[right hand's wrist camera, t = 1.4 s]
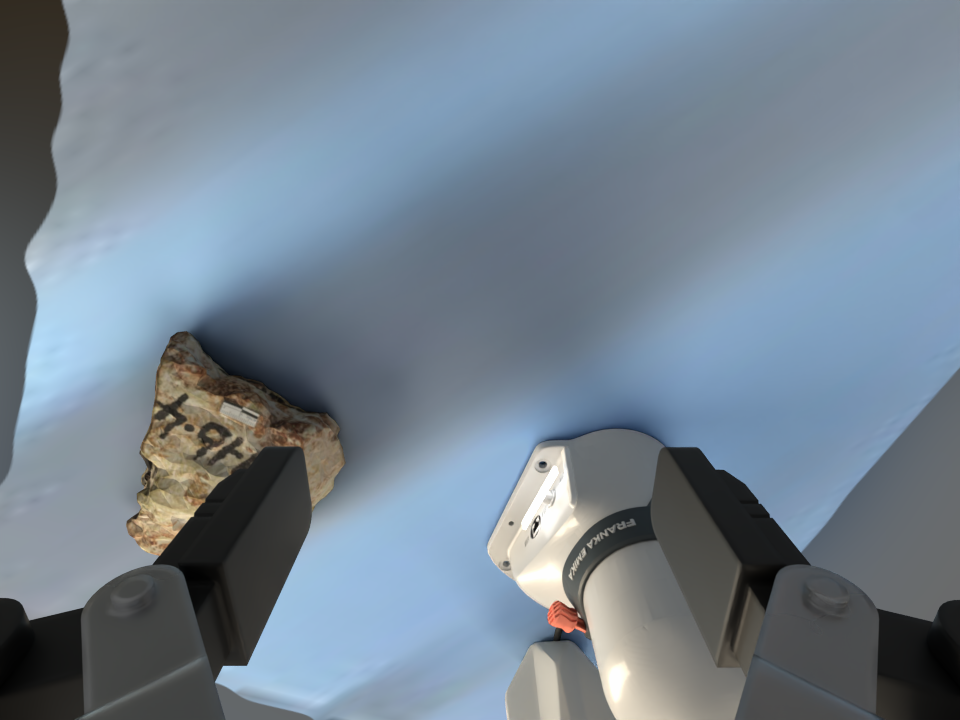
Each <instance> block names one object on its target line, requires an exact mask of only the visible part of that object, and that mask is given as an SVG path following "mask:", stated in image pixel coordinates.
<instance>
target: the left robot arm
mask: <svg viewBox="0 0 960 720" xmlns="http://www.w3.org/2000/svg"><path fill="white" fill-rule="evenodd" d="M663 447H665V446H664V445H663V444H662V443H660V442H659V441H658V440H656V439H654V438H653V437H651V436H649V435H647V434H644V433H641V432H638V431H634V430H628V429H605V430H600V431H595V432H592V433H589V434H586V435H583V436H580V437H578V438H575V439H571V440H550V441H544V442H541V443H540V444H538V445H537V446H536V448H535V450H534V451H533V453H532V455H531V457H530V459H529V461H528V463H527V465H526V467H525V469H524V471H523V473H522V475H521V478H520V480H519V482H518V484H517V486H516V488H515V490H514V492H513V494H512V496H511V498H510V500H509V502H508V504H507V506H506V508H505V510H504V512H503V514H502V516H501V518H500V520H499V522H498V524H497V526H496V528H495V530H494V532H493V534H492V536H491V538H490V540H489V542H488V545H487V549H488V553H489V556H490V557H491V559H492V561H493V562H494V563H495V564H496V566H497V567H498V568H499V569H500V570H501V571H502V572H504V573H505V574H506V575H507V576H509V577H510V578H512V579H513V580H515V581H516V582H517V584H518V585H519V587H520V588H521V589H522V590H523V592H524V593H525V594H527V595H528V596H529V597H530V598H531V599H533V600H534V601H536V602H537V603H539V604H540V605H542V606H544V607H546V608H547V609H549V612H548V621H549V624H550V625H552V626H554V627H556V630H555V634H554V639H553V641H560V638H561V634H562V630H564V631H565V632H567V633H570V632H572V631H573V630H574V629H575V628H576V629H578V630H580V631H582V632H584V634H585V637H586V638H588V639H590V640H592V644H593V648H594V652H595V656H596V661H597V665H598V669H599V673H600V678H601V682H602V686H603V691H604V694H605V697H606V700H607V702H608V705H609V707H610V709H611V711H612V713H613V715H614V717H615V718H616V720H735V716H736V713H737V709H738V706H739V702H740V699H741V695H742V692H743V688H744V685H745V681H746V677H745V675H744V673H743V671H742V669H741V668H717V667H716V665H715V662H714V660H713V658H712V656H711V654H710V652H709V650H708V647H707V645H706V643H705V641H704V639H703V637H702V635H701V632H700V630H699V628H698V626H697V624H696V622H695V619H694V617H693V615H692V613H691V611H690V609H689V607H688V604H687V602H686V600H685V598H684V596H683V594H682V592H681V589H680V587H679V585H678V583H677V581H676V579H675V576H674V574H673V572H672V570H671V568H670V566H669V564H668V561H667V559H666V557H665V555H664V553H663V551H662V549H661V546H660V544H659V542H658V540H657V538H656V536H655V533H654V530H653V527H652V522H651V500H652V494H653V487H654V480H655V474H656V467H657V461H658V455H659V452H660V450H661V449H662V448H663ZM541 461H545V462H546V463H545V464H539V463H540V462H541ZM504 561H509V562H504Z"/></svg>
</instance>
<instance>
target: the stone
mask: <svg viewBox="0 0 960 720" xmlns="http://www.w3.org/2000/svg"><path fill="white" fill-rule="evenodd" d="M339 430H340V428H339V426H338V425H337V423H336V421H335V420H333V419H332V418H331V417H329V416H328V414H327V413H317V412H306V411H304V410H302V409H301V408H299V407H296V406H292V405H290V404H289V403H288V402H287V401H286V400H285V399H284V398H282V397H281V396H280V395H279V394H277V393H275V392H273V391H271V390H269V389H268V388H267V387H266V386H265V385H264V384H263V383H261V382H258V381H255V380H251V379H245V378H244V377H242V376H230V375H228V374H227V373H226V372H225V371H224V370H223V369H222V368H221V367H220V366H219V365H218V364H216V363H215V362H214V361H212V359H211V357H210V356H209V355H207V354H206V353H205V352H204V351H203V350H202V349H201V346H200V343H199V342H198V341H197V340H196V339H195V338H194V336H193V335H192V334H190V333H188V332H187V331H184V332H177V333H176V334H174V335H173V336H172V337H171V338H170V341H169V344H168V345H167V347H166V349H165V351H164V353H163V355H162V357H161V363H160V365H159V366H158V369H157V374H156V385H155V401H154V407H153V411H152V419H151V424H150V427H149V429H148V431H147V433H146V436H145V438H144V440H143V442H142V444H141V451H140V455H141V456H142V458H143V459H144V461H145V463H146V465H147V469H146V471H145V473H144V474H143V475H142V478H141V482H142V485H144V489H143V490H142V491H140V492H138V493H137V501H138V503H139V504H140V505H141V510H140V512H139V513H137V514H136V515H134V516H133V517H131V518H130V519H129V520H128V521H127V524H126V527H127V530H128V533H129V535H130V536H132V537H133V538H135V540H136V542H137V544H138V545H139V546H140V547H141V548H142V549H143V550H144V551H146V552H148V553H151V554H155V555H159V556H160V555H161V554H162V552H163V551H164V550H165V549H166V547H167V546H168V545H169V544H170V542H171V541H172V540H173V539H174V537H175V536H176V535H177V534H178V532H179V531H180V530H181V529H182V527H183V526H184V525H185V524H186V522H187V521H188V520H189V519H190V518H191V517H194V513H195V511H196V510H197V509H198V508H199V506H200V505H201V504H202V503H205V499H206V498H207V496H208V495H209V494H210V493H211V491H212V490H213V489H214V488H215V487H216V485H217V484H218V483H219V482H221V481H222V480H223V479H225V478H226V477H228V476H229V475H231V474H232V473H234V472H235V471H237V470H238V469H248V468H249V466H250V465H251V464H252V462H253V461H254V460H255V458H256V457H257V456H258V454H259V453H260V452H261V450H262V449H263V448H264V447H267V446H299V447H301V448H302V450H303V452H304V456H305V462H306V469H307V475H308V482H309V489H310V496H311V503H312V512H313V509H314V507H315V505H316V504H317V503H318V502H319V501H320V500H321V499H323V498H324V497H326V495H327V494H328V493H329V492H330V491H331V490H332V489H333V486H334V478H335V477H336V475H337V474H338V472H339V471H340V470H341V468H342V467H343V466H344V464H345V459H344V454H343V448H342V446H341V444H340V441H339V439H338V436H337V435H338V432H339Z"/></svg>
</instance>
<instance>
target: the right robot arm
mask: <svg viewBox="0 0 960 720" xmlns="http://www.w3.org/2000/svg"><path fill="white" fill-rule="evenodd" d="M311 517H312V503H311V496H310V489H309V482H308V475H307V469H306V462H305V456H304V452H303V450H302V448H301V447H299V446H267V447H264V448H263V449H262V450H261V452H260V453H259V454H258V456H257V457H256V458H255V460H254V461H253V462H252V464H251V465H250V466H249V468H248V469H238V470H237V471H235V472H234V473H232V474H231V475H229V476H228V477H226V478H225V479H223V480H222V481H221V482H219V483H218V484H217V485H216V487H215V488H214V489H213V490H212V491H211V493H210V494H209V495H208V496H207V498H206V499H205V503H202V504H201V505H200V506H199V508H198V509H197V510H196V511H195V513H194V517H191V518H190V519H189V520H188V521H187V522H186V524H185V525H184V526H183V527H182V529H181V530H180V531H179V532H178V534H177V535H176V536H175V537H174V539H173V540H172V541H171V542H170V544H169V545H168V546H167V547H166V549H165V550H164V551H163V552H162V554H161V555H160V556H159V557H158V558H157V560H156V561H155V562H154V563H153V565H150V566H145V567H141V568H137V569H134V570H131V571H129V572H127V573H124V574H122V575H120V576H118V577H117V578H115V579H113V580H111V581H110V582H108V583H107V584H105V585H104V586H103V587H102V588H100V589H99V590H98V591H97V592H96V593H95V594H94V595H93V596H92V597H91V598H90V599H89V601H88V602H87V603H86V605H85V607H84V608H81V609H76V610H72V611H68V612H64V613H59V614H55V615H51V616H47V617H43V618H38V619H34V620H30V621H29V619H28V617H27V615H26V613H25V610H24V608H23V606H22V604H21V603H20V602H18V601H16V600H14V599H9V598H0V720H225V716H224V713H223V709H222V706H221V702H220V699H219V695H218V692H217V688H216V685H215V681H216V679H217V677H218V675H219V673H220V671H221V669H222V667H223V666H247V664H248V662H249V660H250V658H251V656H252V653H253V651H254V649H255V647H256V645H257V643H258V640H259V638H260V636H261V634H262V632H263V629H264V627H265V625H266V623H267V621H268V619H269V616H270V614H271V612H272V610H273V608H274V606H275V603H276V601H277V599H278V597H279V595H280V592H281V590H282V588H283V586H284V584H285V582H286V579H287V577H288V575H289V573H290V571H291V569H292V566H293V564H294V562H295V560H296V558H297V555H298V553H299V551H300V549H301V547H302V545H303V542H304V540H305V538H306V536H307V534H308V531H309V528H310V524H311ZM651 522H652V527H653V530H654V533H655V536H656V538H657V540H658V542H659V544H660V546H661V549H662V551H663V553H664V555H665V557H666V559H667V561H668V564H669V566H670V568H671V570H672V572H673V574H674V576H675V579H676V581H677V583H678V585H679V587H680V589H681V592H682V594H683V596H684V598H685V600H686V602H687V604H688V607H689V609H690V611H691V613H692V615H693V617H694V619H695V622H696V624H697V626H698V628H699V630H700V632H701V635H702V637H703V639H704V641H705V643H706V645H707V647H708V650H709V652H710V654H711V656H712V658H713V660H714V662H715V665H716V667H717V668H741V669H742V671H743V673H744V675H745V677H746V681H745V685H744V688H743V692H742V695H741V699H740V702H739V706H738V709H737V713H736V716H735V720H960V600H953V601H948V602H946V603H944V604H942V605H941V606H940V608H939V610H938V612H937V615H936V617H935V619H934V621H933V622H930V621H926V620H922V619H918V618H914V617H910V616H905V615H901V614H897V613H893V612H889V611H884V610H880V609H877V608H876V607H875V605H874V603H873V602H872V601H871V599H870V598H869V597H868V596H867V595H866V594H865V593H864V592H863V591H862V590H861V589H860V588H858V587H857V586H856V585H855V584H853V583H852V582H850V581H849V580H847V579H845V578H843V577H842V576H840V575H838V574H836V573H833V572H831V571H828V570H826V569H823V568H819V567H815V566H811V565H810V563H809V562H808V561H807V560H806V559H805V557H804V556H803V555H802V554H801V552H800V551H799V550H798V549H797V548H796V546H795V545H794V544H793V543H792V541H791V540H790V539H789V538H788V536H787V535H786V534H785V533H784V532H783V530H782V529H781V528H780V527H779V525H778V524H777V523H776V522H775V520H774V519H773V518H770V514H769V513H768V512H767V511H766V509H765V508H764V507H763V506H762V504H759V503H758V500H757V498H756V497H755V496H754V495H753V493H752V492H751V491H750V490H749V488H748V487H747V486H746V485H745V484H744V483H743V482H741V481H740V480H738V479H737V478H735V477H734V476H732V475H731V474H729V473H728V472H726V471H725V470H715V468H714V467H713V466H712V465H711V463H710V462H709V461H708V459H707V458H706V457H705V455H704V454H703V453H702V451H701V450H700V449H699V448H697V447H663V448H662V449H661V450H660V452H659V455H658V461H657V467H656V474H655V480H654V487H653V494H652V500H651Z"/></svg>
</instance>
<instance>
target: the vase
mask: <svg viewBox="0 0 960 720" xmlns="http://www.w3.org/2000/svg"><path fill="white" fill-rule="evenodd" d="M505 704H506V713H507V720H616V718H615V717H614V715H613V713H612V711H611V709H610V707H609V705H608V702H607V700H606V697H605V694H604V691H603V686H602V682H601V678H600V673H599V670H598V669H597V668H596V667H595V666H594V664H593V663H592V662H591V661H590V660H589V659H588V657H587V656H586V655H585V654H584V653H583V652H582V651H581V649H580V648H579V647H578V646H577V645H576V644H575V643H574V642H571V641H570V640H563V641H548V642H536V643H534V644H533V645H531V646H530V647H529V649H528V651H527V653H526V655H525V657H524V658H523V660H522V662H521V664H520V666H519V668H518V670H517V672H516V674H515V676H514V678H513V680H512V682H511V684H510V686H509V687H508V689H507V691H506V694H505Z"/></svg>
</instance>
